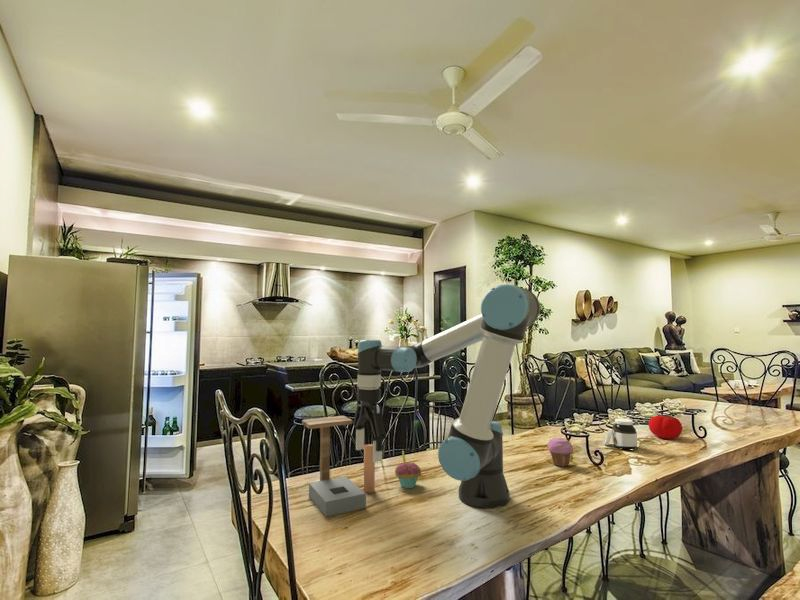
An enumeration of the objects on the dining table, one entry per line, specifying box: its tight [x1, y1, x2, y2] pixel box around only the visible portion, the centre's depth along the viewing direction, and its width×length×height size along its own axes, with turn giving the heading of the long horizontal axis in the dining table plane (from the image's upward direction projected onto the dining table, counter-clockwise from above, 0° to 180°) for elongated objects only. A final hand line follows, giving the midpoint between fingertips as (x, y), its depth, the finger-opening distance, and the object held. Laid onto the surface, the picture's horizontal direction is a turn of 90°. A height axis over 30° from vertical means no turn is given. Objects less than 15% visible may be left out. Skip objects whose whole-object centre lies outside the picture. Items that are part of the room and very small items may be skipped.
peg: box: [363, 443, 376, 494], centre depth 132 cm, size 3×3×14 cm
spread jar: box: [603, 418, 638, 450], centre depth 180 cm, size 12×11×12 cm
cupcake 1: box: [394, 448, 422, 489], centre depth 137 cm, size 9×8×12 cm
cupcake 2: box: [547, 437, 574, 468], centre depth 156 cm, size 9×9×10 cm
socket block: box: [308, 475, 367, 518], centre depth 124 cm, size 16×12×4 cm
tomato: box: [648, 414, 683, 440], centre depth 194 cm, size 13×12×11 cm
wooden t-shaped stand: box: [301, 415, 353, 481], centre depth 132 cm, size 8×14×22 cm, turn 118°
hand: (368, 455), depth 133 cm, fingers open, 13 cm apart
